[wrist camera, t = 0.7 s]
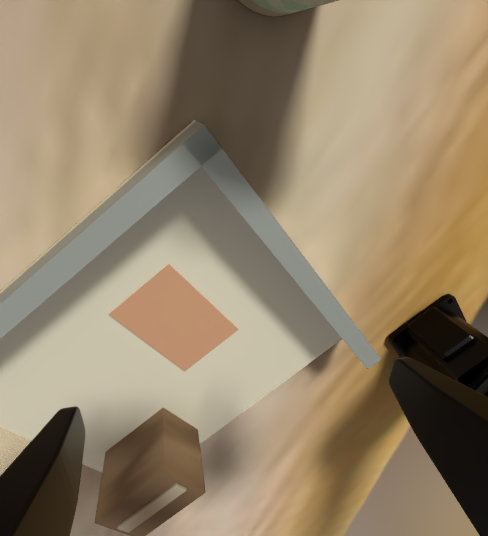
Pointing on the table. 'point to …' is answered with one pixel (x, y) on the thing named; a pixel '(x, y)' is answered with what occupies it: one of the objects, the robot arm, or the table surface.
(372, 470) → the table surface
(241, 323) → the arena
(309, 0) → the coffee cup
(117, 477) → the walnut block
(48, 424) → the robot arm
